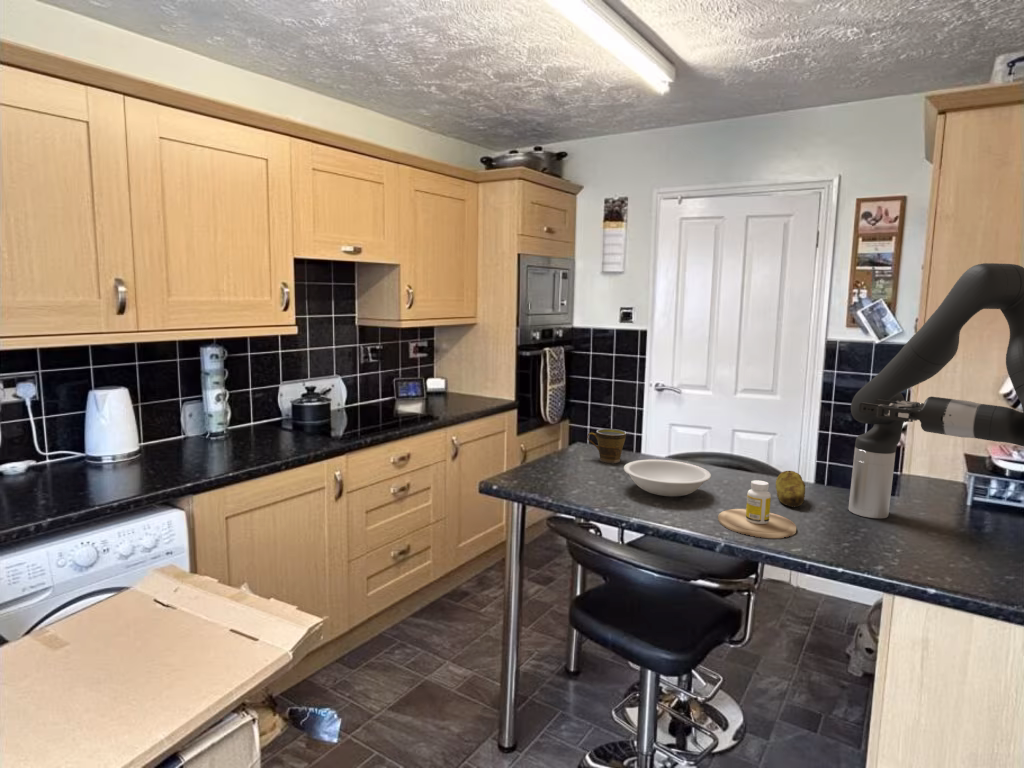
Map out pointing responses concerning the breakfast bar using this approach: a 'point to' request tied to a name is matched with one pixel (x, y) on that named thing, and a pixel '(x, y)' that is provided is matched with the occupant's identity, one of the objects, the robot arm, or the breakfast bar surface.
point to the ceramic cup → (609, 444)
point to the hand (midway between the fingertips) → (867, 405)
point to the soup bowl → (667, 476)
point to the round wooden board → (772, 529)
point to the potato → (790, 488)
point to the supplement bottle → (758, 503)
